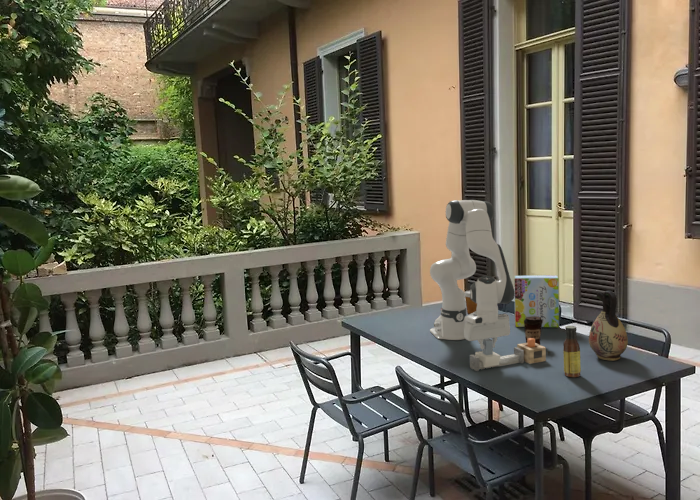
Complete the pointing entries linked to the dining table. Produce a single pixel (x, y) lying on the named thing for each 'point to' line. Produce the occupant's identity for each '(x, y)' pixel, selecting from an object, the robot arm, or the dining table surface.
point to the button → (530, 342)
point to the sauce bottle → (571, 353)
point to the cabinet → (533, 353)
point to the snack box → (537, 299)
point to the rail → (504, 360)
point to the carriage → (488, 354)
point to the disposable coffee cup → (470, 303)
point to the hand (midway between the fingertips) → (487, 348)
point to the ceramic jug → (608, 330)
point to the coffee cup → (533, 328)
